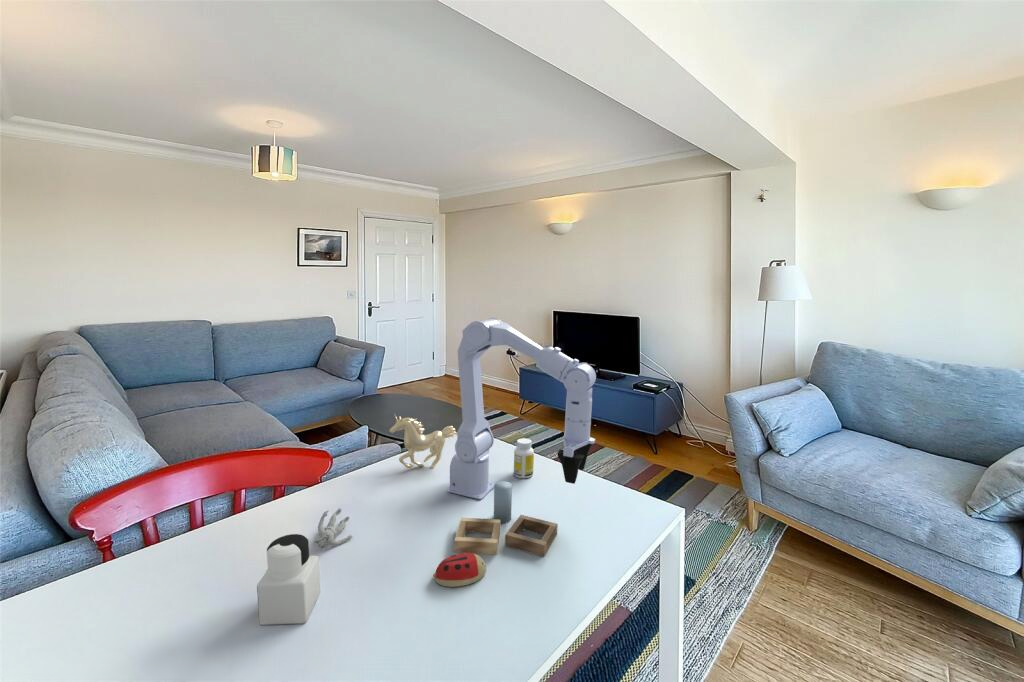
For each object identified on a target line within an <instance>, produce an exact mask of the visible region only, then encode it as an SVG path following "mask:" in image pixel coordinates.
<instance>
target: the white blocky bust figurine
mask: <svg viewBox="0 0 1024 682" xmlns="http://www.w3.org/2000/svg"><path fill="white" fill-rule="evenodd" d="M309 541H310V540H309V539H308V538H307V536H305V535H303V534H298V533H293V534H286V535H283V536H280V537H278V538H276V539H274V540H273V541H272V542H271V543H270V544H269V545H268V546H267V548H266V559H267V561H266V562H267V570H266V571H265V572H264V574H263V576H262V577H261V578H260V580H259V582H258V583H257V584H256V592H257V606H258V618H259V619H258V622H259V625H261V626H267V625H268V626H271V625H272V626H273V625H274V626H275V625H295V624H296V625H297V624H306V623H307V622H308V619H309V617H310V615H311V613H312V611H313V609H314V607H315V605H316V603H317V600H318V598H319V596H320V594H321V578H320V557H319V556H318V555H310V546H309V545H310V543H309Z"/></svg>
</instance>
